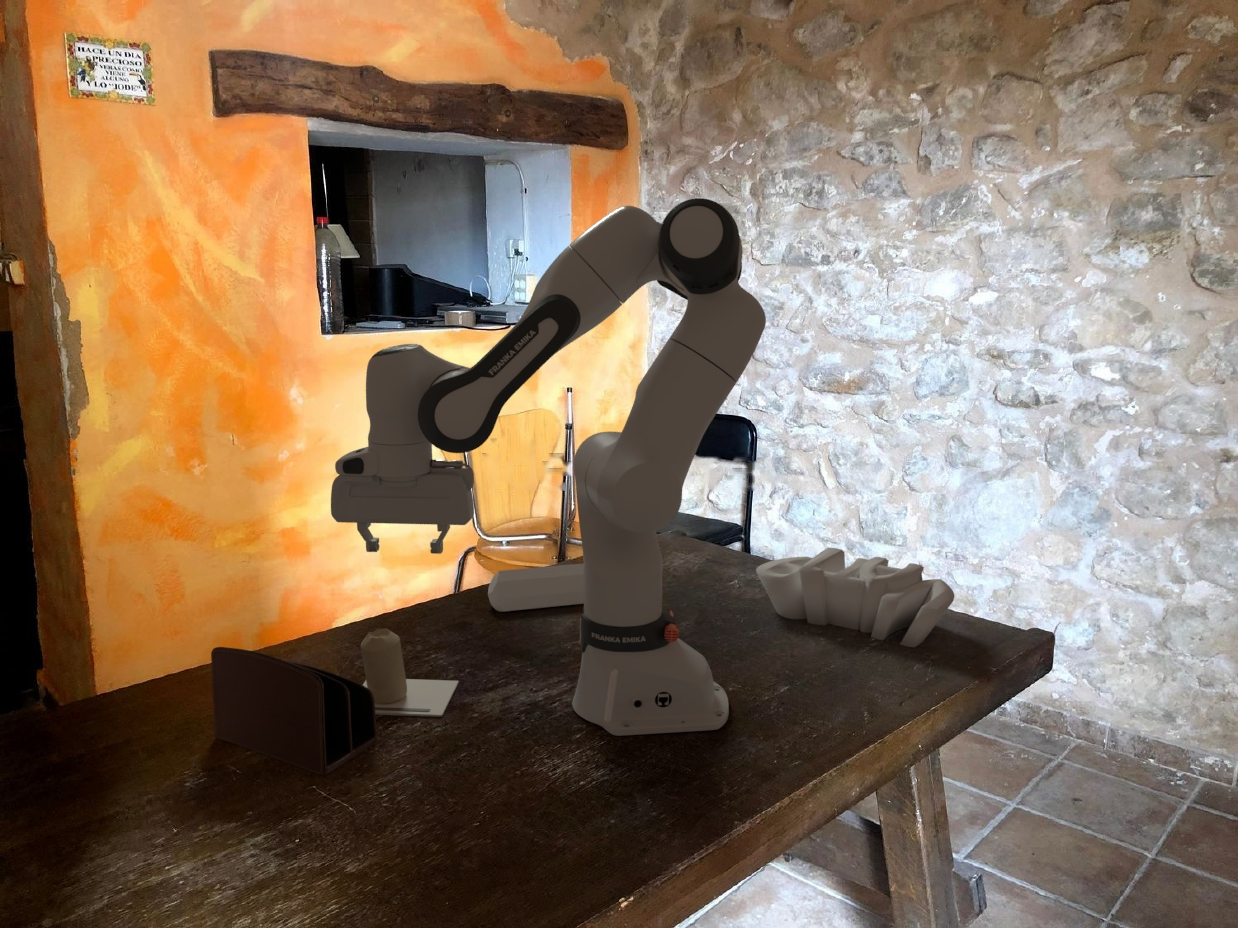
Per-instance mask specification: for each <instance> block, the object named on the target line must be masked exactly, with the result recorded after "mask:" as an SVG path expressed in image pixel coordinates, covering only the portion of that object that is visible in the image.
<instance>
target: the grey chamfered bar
mask: <svg viewBox="0 0 1238 928" xmlns="http://www.w3.org/2000/svg"><path fill="white" fill-rule="evenodd" d="M487 596H488V599H489V604H490V605H491V606H492V608H494V610H495V611H497V612H511V611H521V610H522V611H523V610H533V609H542V608H551V607H560V606H561V607H562V606H570V605H571V606H572V605H582V604H583V605H584V562H582V563H571V564H562V565H550V566H549V565H548V566H540V567H539V566H536V567H528V568H517V569H505V570H504V569H503V570H498V571H497V572H496V574H494V575H493V577H492V578H491V581H490V582H489V585H488V592H487Z"/></svg>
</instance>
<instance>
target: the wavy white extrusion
mask: <svg viewBox="0 0 1238 928" xmlns="http://www.w3.org/2000/svg"><path fill="white" fill-rule="evenodd" d="M845 554H846V553H845V550H843V549H841V548H836V547H827V548H825V549H824V550H822V551H820V552H819V553H818V554H816V555H815V556H813V557H811V556H791V557H785V558H779V559H774V560H771V561H767V562H764V563H762V564H761V565H759V566H757V567H756V569H755V571H756V574H757V576H758V578H759V579H760V581H761V584H762V585H763V588H764V589H765V590H764V591H765V592H766V593H767V596H768V598H769V600H770V602H771V604H772V605H773V608H774V610H775V612H776V613H777V614H778V615H779V616H780V617H783V618H785V619H790V620H806V619H807V623H808V624H812V625H817V626H826V625H828V624H831V625H834V626H838V627H841V628H846V629H850V630H854V631H855V630H856V631H858V630H859V631H860V632H861V633H871V635H870V638H872V639H876V640H880V641H884V640H886V638H887V637H888V636H890V635H891V634H893V633H894V632H896V631H899V630H902V629H905V628H908V630H907V632H906V633H905V634H904V636H903V638H902V640H901V642H900V643H899V644H900V646H901V645H902V646H905V647H909V648H916V647H918V646H919V645H921V644H922V643H923V642H924V641H925V640H926V638H928V636H929V634H930V633H931V632H932V630H933V629H934V628H935V626H936V625H937V624H938V622H939V621H940V620H941V619H942V617H943V616H944V614H945V613H946V612H947V611H948V609H949V608H950V606H951V605H952V603H953V602H954V601H955V592H954V591H953V588H951V586H950V585H949V584H948V583H946V582H945V580H942V579H941V578H936V579H935V578H933V579H932V578H931V579H923V571H924V568H925V567H924V566H923V565H921V564H917V563H913V562H912V563H911V562H909V563H908V564H907V565H906V566H905V567H902V568H901V567H900V568H898V567H893V566H889V559H888V558H886V557H881V556H874V557H871V558H869V559H867V558H862V557H857V558H856V559H855V561H854V562H852V564H850V565H849V566H847V567H846V564H845V563H846V562H845V561H846V557H845V556H846V555H845Z"/></svg>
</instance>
